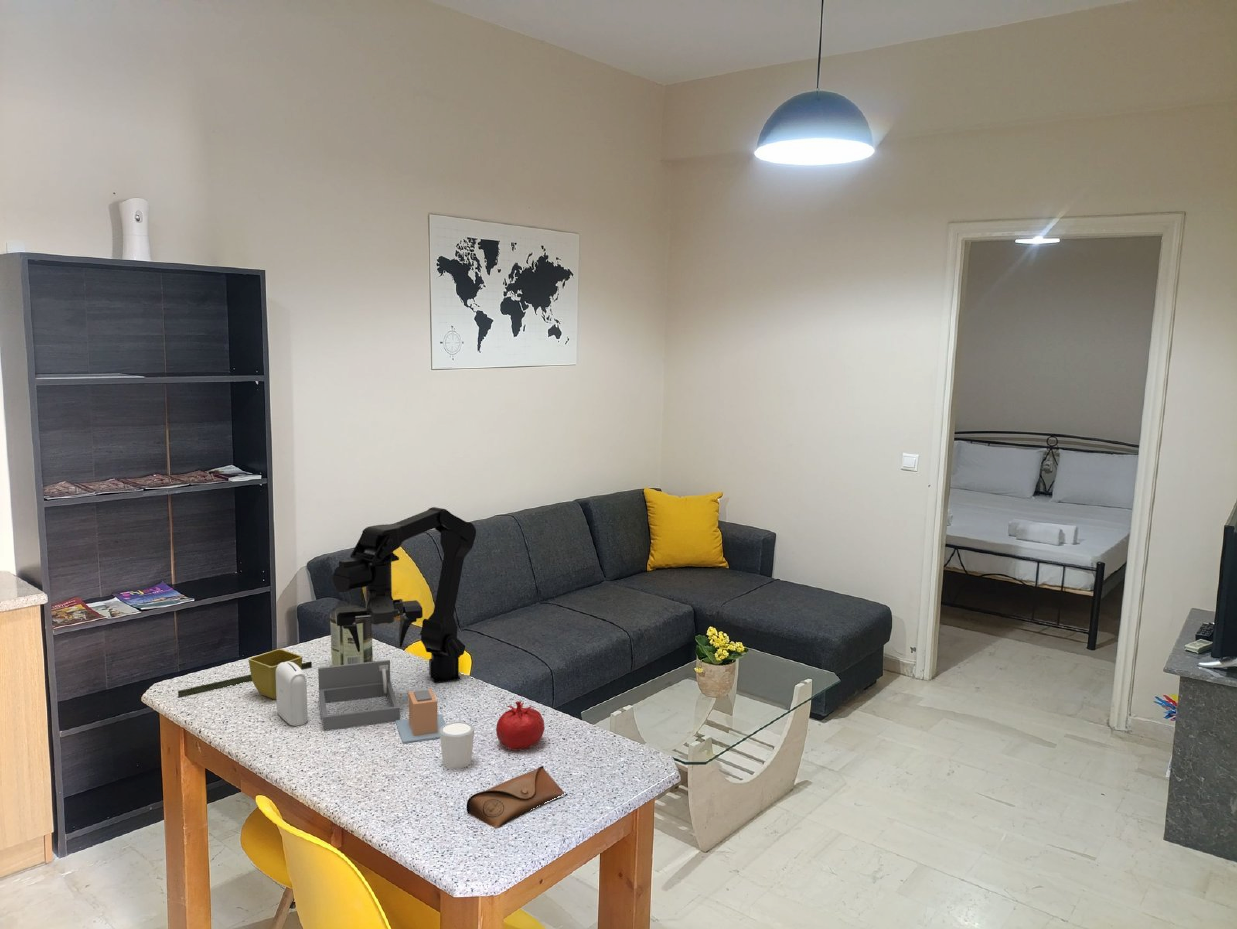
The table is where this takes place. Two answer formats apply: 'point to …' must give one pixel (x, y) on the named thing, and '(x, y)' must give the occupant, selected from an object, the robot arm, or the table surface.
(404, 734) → the mat
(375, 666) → the grey open frame
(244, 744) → the table surface
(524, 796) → the sunglasses case
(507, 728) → the pomegranate
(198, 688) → the rod
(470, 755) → the white cup
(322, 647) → the table surface
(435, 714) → the block
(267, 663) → the flower pot
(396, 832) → the table surface
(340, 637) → the coffee can
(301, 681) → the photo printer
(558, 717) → the table surface
